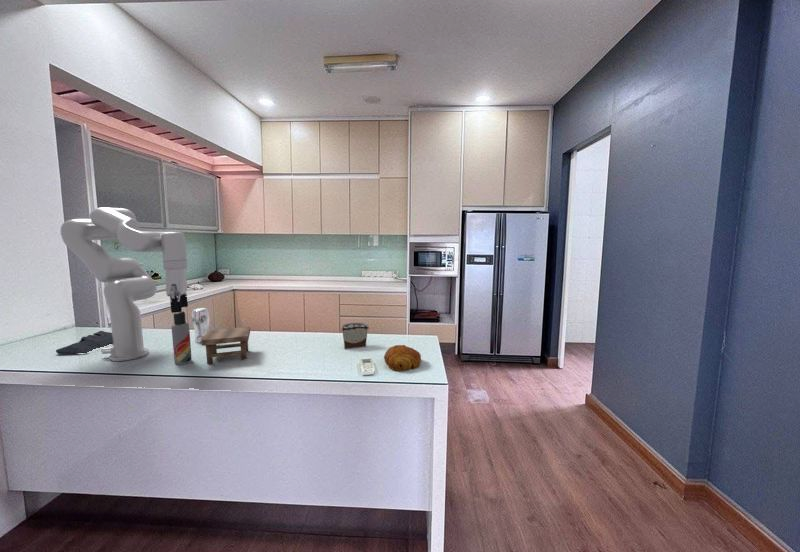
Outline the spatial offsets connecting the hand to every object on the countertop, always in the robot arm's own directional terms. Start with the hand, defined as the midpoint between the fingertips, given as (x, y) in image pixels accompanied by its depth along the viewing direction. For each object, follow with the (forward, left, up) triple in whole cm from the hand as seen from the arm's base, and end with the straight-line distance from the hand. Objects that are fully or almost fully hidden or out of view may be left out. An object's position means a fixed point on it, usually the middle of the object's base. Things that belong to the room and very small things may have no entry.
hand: (180, 309), depth 129 cm
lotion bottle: (0, 0, -21) cm, 21 cm away
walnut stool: (+16, 0, -21) cm, 26 cm away
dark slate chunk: (-43, +35, -22) cm, 60 cm away
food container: (+67, -4, -21) cm, 70 cm away
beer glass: (+2, +27, -21) cm, 35 cm away
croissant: (+80, -31, -21) cm, 88 cm away
